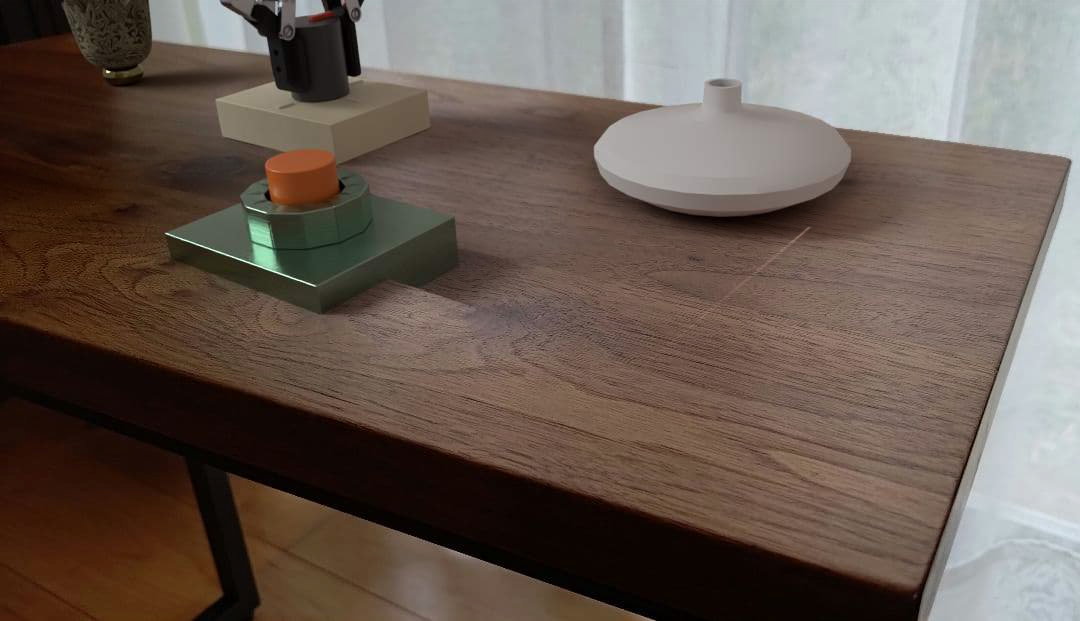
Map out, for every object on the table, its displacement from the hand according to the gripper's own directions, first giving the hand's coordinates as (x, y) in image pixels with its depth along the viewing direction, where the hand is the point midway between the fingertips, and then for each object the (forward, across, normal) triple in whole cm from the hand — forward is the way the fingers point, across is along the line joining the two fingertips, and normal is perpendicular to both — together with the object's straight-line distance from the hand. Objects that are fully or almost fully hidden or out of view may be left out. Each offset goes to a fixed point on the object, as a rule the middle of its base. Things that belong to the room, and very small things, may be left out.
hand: (319, 79), depth 76 cm
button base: (+4, -18, -19) cm, 26 cm away
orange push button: (0, -18, -19) cm, 26 cm away
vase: (+4, +4, -32) cm, 33 cm away
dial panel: (+4, 0, 0) cm, 4 cm away
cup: (+4, +1, +29) cm, 29 cm away
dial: (+1, 0, 0) cm, 1 cm away
